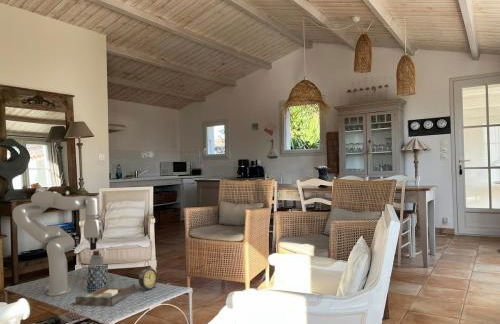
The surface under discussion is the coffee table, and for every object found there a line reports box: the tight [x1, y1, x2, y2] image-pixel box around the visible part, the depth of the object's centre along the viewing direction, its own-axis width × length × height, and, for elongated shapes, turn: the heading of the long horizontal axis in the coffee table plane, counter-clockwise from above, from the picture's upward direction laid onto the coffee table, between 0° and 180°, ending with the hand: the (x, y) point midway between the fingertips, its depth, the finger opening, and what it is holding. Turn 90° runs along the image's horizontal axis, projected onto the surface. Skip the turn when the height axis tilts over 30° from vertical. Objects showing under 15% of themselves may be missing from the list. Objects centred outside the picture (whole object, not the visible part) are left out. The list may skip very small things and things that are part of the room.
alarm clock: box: [138, 261, 158, 293], centre depth 221 cm, size 11×5×16 cm, turn 148°
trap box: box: [75, 283, 137, 307], centre depth 210 cm, size 22×22×4 cm
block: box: [104, 289, 118, 298], centre depth 202 cm, size 5×5×4 cm
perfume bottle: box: [89, 250, 104, 267], centre depth 251 cm, size 7×7×18 cm
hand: (93, 249), depth 222 cm, fingers closed
